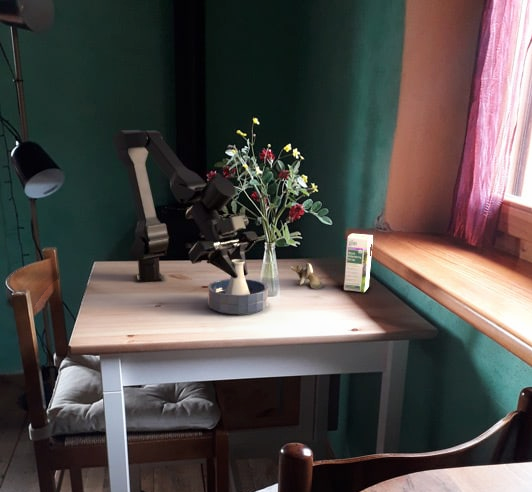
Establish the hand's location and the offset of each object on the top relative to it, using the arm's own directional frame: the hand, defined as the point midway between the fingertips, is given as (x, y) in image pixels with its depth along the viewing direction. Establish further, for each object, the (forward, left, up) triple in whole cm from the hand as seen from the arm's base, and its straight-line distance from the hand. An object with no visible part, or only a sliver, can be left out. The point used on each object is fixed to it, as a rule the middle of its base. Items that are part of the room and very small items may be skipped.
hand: (241, 276), depth 146 cm
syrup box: (-11, +33, -8) cm, 36 cm away
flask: (-1, -1, -7) cm, 7 cm away
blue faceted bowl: (-1, -1, -8) cm, 8 cm away
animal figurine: (-17, +21, -8) cm, 28 cm away
